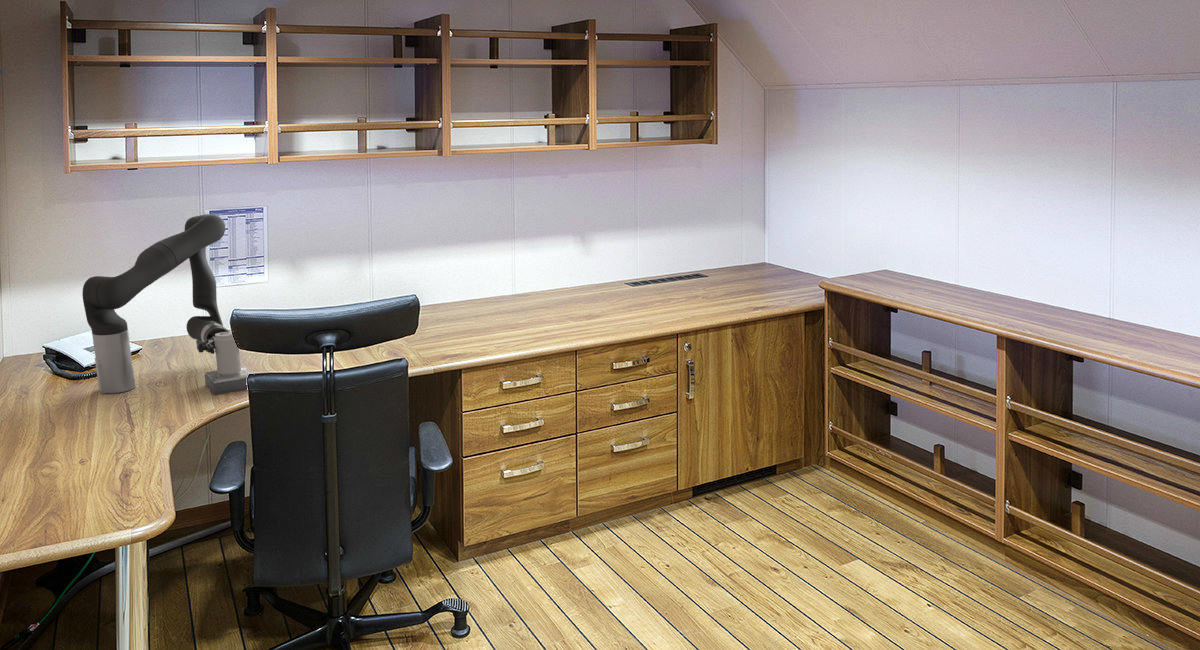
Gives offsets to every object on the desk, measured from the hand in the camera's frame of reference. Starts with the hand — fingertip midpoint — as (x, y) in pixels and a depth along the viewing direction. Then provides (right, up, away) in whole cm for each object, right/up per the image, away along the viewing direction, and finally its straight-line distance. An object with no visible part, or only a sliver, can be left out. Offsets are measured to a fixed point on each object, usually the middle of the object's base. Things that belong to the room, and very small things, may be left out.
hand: (228, 348), depth 274 cm
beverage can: (-1, -8, +3) cm, 8 cm away
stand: (-1, -11, +4) cm, 12 cm away
